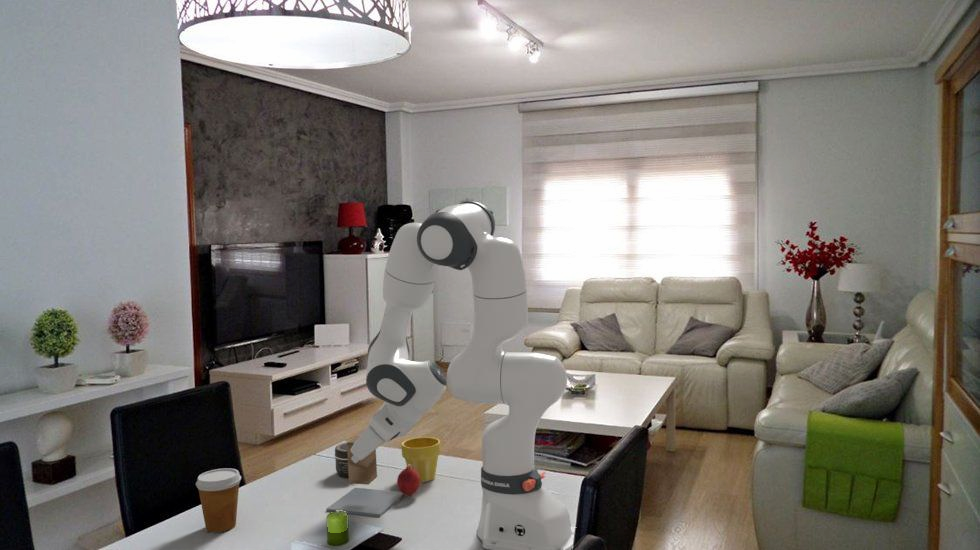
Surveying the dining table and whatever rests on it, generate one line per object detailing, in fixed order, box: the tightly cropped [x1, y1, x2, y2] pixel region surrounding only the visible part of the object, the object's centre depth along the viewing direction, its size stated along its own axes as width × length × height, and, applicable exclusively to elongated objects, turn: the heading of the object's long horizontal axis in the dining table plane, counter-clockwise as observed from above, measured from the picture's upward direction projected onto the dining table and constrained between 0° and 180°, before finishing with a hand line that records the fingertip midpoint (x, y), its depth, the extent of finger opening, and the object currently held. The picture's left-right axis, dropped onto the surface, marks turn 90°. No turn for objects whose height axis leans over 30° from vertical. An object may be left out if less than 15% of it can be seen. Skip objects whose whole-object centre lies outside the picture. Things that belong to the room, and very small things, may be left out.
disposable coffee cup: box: [195, 467, 242, 533], centre depth 154 cm, size 10×10×12 cm
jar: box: [334, 441, 349, 480], centre depth 188 cm, size 10×10×8 cm
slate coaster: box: [325, 487, 405, 518], centre depth 167 cm, size 14×14×1 cm
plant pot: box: [400, 436, 442, 483], centre depth 183 cm, size 10×10×10 cm
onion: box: [396, 464, 422, 497], centre depth 170 cm, size 6×6×8 cm
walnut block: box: [346, 435, 378, 486], centre depth 165 cm, size 5×5×10 cm
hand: (360, 455), depth 165 cm, fingers closed on walnut block, 5 cm apart
